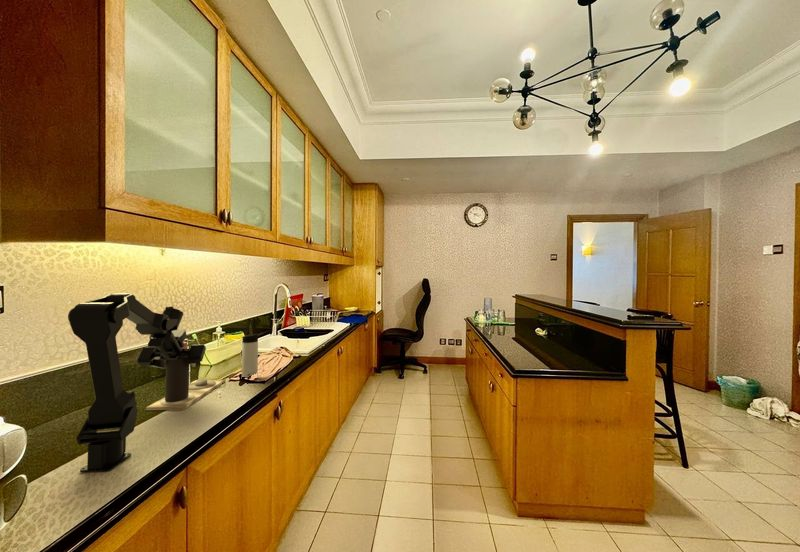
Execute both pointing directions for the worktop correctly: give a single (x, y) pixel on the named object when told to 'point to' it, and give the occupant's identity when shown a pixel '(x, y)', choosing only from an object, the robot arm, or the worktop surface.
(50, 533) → the worktop surface
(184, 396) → the vinegar
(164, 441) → the worktop surface
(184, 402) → the board
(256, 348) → the travel mug
